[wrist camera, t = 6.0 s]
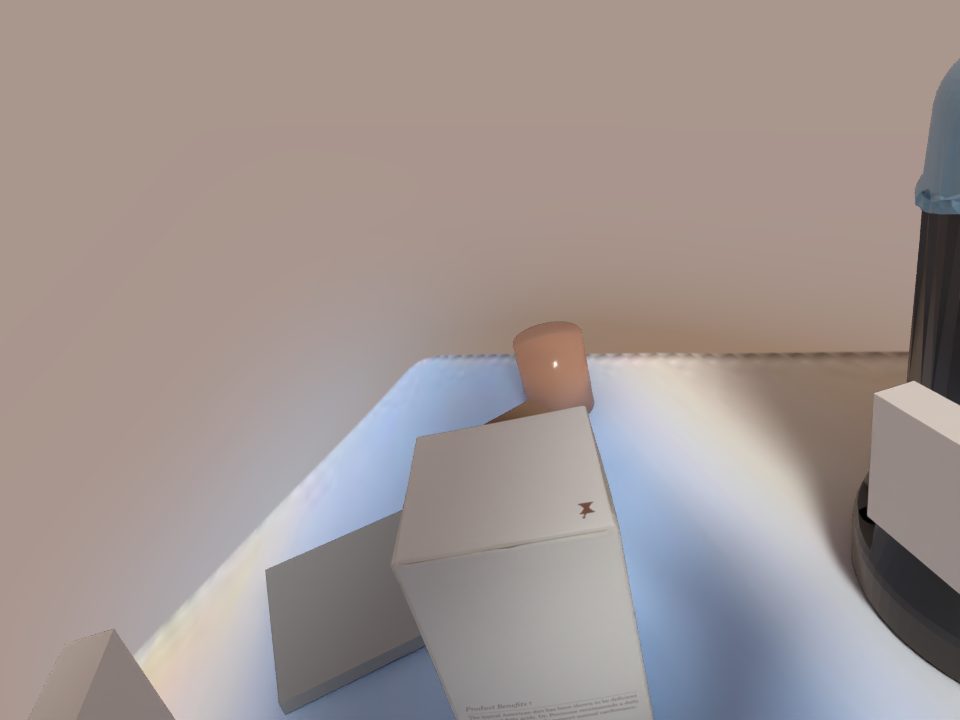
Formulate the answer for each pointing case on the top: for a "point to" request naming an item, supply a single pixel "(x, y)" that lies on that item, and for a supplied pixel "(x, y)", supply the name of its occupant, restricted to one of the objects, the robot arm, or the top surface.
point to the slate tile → (338, 614)
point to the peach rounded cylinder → (554, 366)
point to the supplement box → (521, 573)
